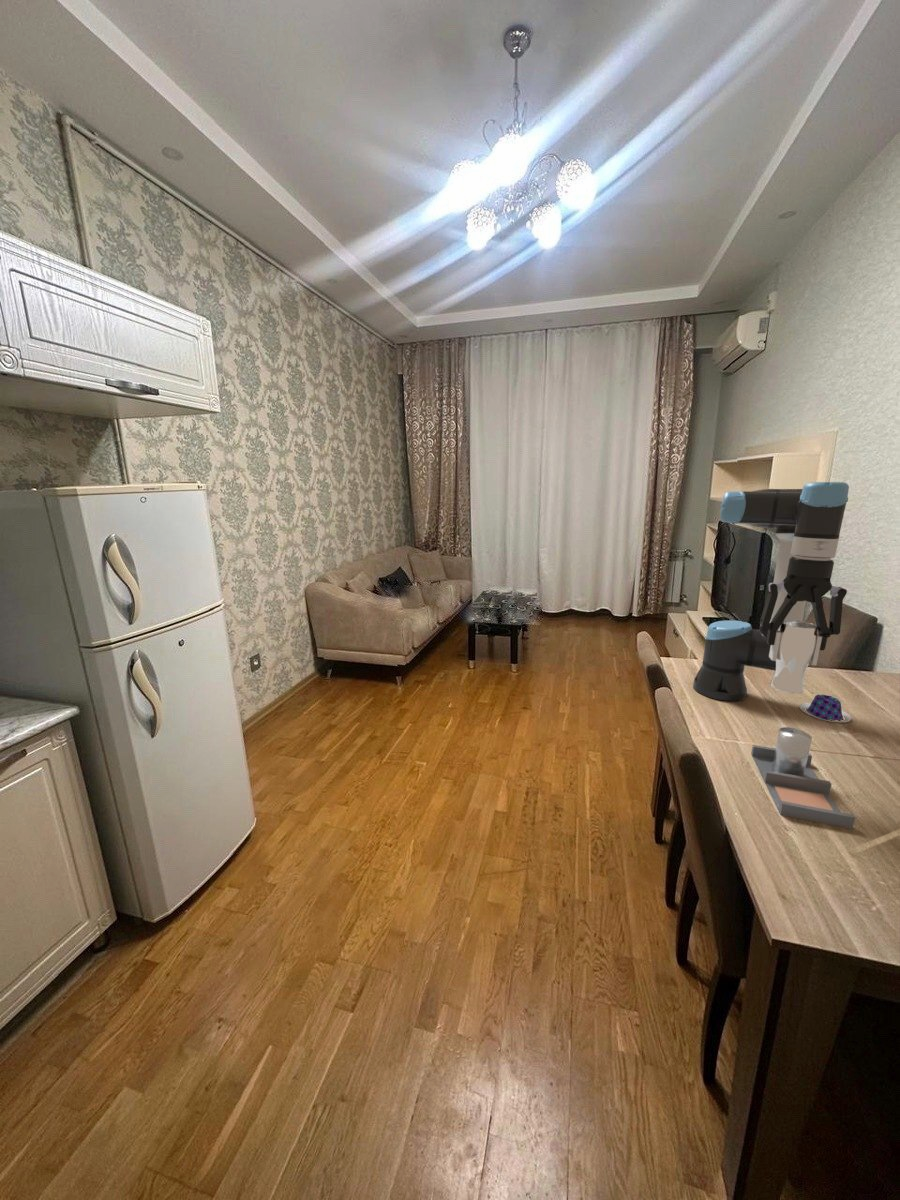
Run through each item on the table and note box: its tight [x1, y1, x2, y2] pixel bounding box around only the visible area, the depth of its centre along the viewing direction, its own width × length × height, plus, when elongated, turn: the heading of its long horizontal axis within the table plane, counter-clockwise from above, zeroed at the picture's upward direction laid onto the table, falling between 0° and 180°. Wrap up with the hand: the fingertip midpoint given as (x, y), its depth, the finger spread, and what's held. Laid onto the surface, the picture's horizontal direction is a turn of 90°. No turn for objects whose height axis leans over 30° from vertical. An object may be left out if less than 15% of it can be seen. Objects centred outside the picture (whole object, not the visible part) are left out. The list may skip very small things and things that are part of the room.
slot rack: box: [750, 744, 856, 830], centre depth 103 cm, size 23×12×3 cm, turn 161°
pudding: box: [799, 694, 852, 723], centre depth 137 cm, size 12×12×5 cm
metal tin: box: [772, 726, 813, 777], centre depth 107 cm, size 6×6×10 cm
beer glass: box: [770, 620, 818, 695], centre depth 103 cm, size 7×7×15 cm
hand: (791, 660), depth 103 cm, fingers closed on beer glass, 7 cm apart
